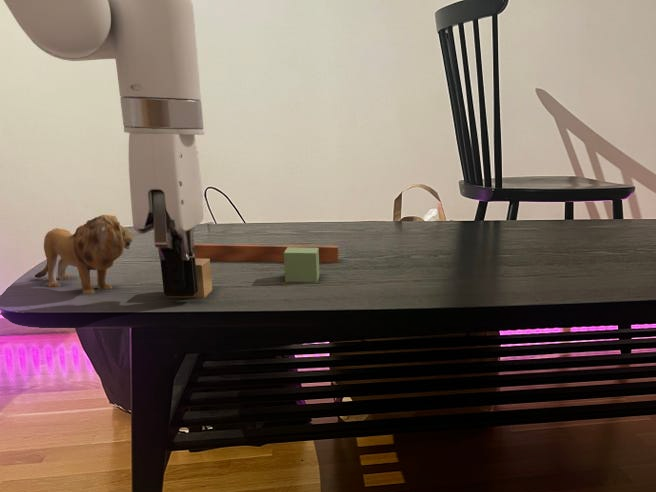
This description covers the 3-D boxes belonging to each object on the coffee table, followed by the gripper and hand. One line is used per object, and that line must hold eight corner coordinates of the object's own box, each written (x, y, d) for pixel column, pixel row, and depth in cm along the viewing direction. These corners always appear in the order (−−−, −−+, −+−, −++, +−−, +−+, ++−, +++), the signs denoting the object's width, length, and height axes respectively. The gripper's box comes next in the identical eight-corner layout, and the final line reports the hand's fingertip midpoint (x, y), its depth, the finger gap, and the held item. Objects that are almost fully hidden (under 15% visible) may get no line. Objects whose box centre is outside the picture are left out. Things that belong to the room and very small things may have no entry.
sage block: (285, 283, 89) (283, 252, 88) (288, 277, 93) (287, 247, 92) (317, 284, 90) (316, 252, 88) (319, 277, 93) (318, 247, 92)
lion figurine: (147, 291, 82) (138, 214, 80) (110, 300, 78) (99, 218, 75) (54, 277, 87) (43, 204, 84) (14, 285, 82) (0, 208, 79)
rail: (195, 262, 99) (193, 245, 99) (197, 260, 101) (195, 243, 100) (338, 264, 102) (337, 247, 102) (338, 262, 104) (338, 245, 103)
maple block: (168, 299, 79) (164, 264, 78) (177, 291, 83) (174, 258, 82) (204, 299, 80) (201, 265, 78) (212, 291, 83) (209, 258, 82)
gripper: (147, 117, 78) (165, 279, 84) (96, 116, 64) (121, 311, 70) (217, 120, 79) (230, 280, 85) (182, 120, 65) (200, 311, 71)
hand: (181, 294), depth 77 cm, fingers closed
